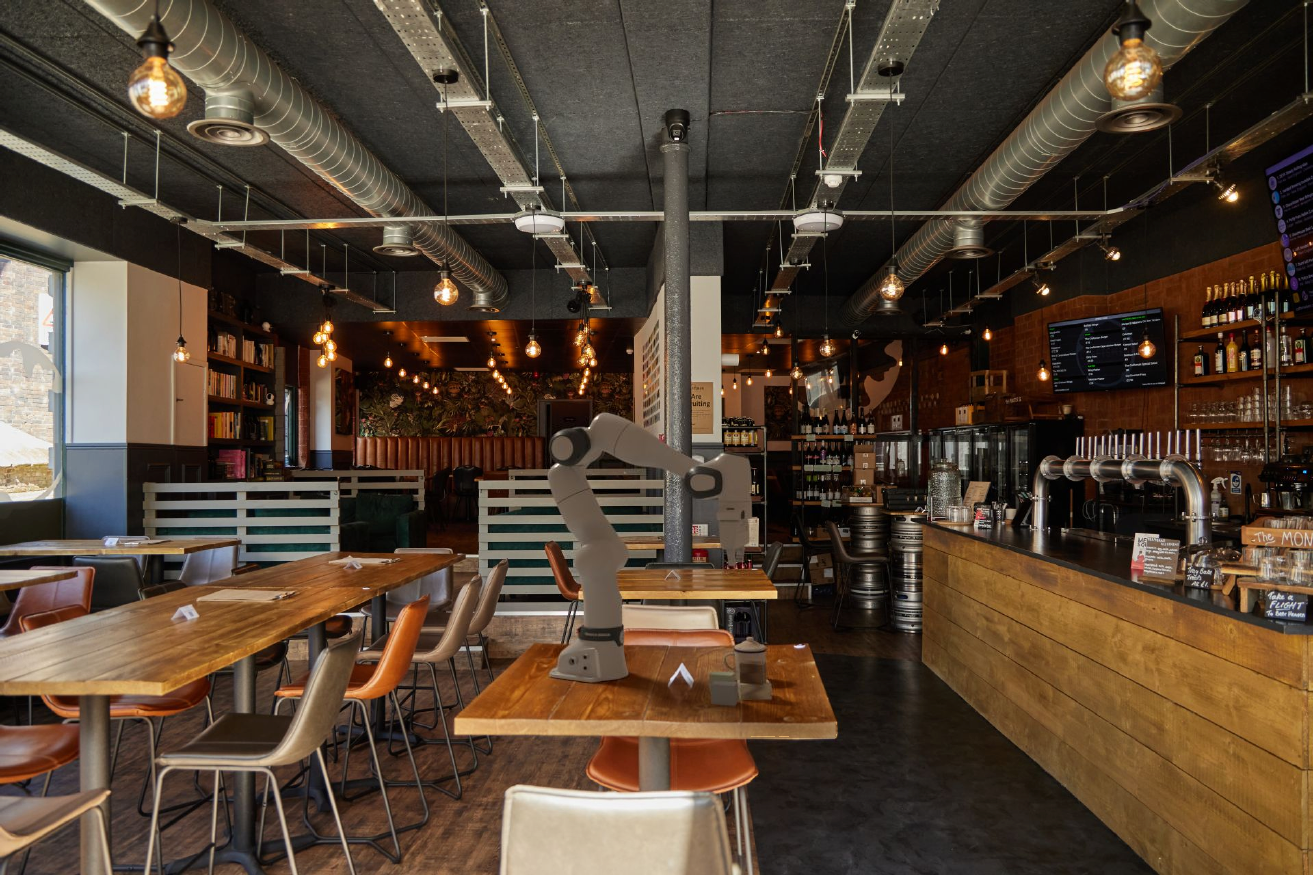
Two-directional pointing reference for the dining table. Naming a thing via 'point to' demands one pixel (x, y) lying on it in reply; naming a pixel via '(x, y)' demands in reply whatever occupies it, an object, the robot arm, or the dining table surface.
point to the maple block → (754, 691)
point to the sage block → (721, 677)
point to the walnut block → (753, 672)
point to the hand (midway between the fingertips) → (736, 563)
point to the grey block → (724, 693)
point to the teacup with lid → (746, 654)
